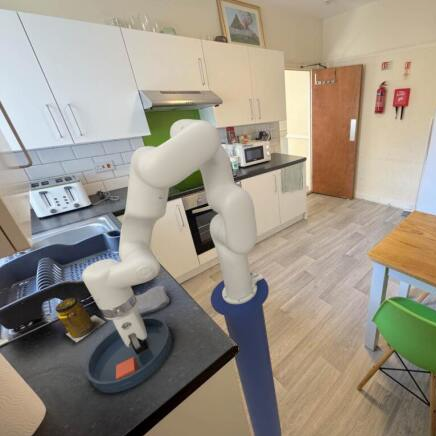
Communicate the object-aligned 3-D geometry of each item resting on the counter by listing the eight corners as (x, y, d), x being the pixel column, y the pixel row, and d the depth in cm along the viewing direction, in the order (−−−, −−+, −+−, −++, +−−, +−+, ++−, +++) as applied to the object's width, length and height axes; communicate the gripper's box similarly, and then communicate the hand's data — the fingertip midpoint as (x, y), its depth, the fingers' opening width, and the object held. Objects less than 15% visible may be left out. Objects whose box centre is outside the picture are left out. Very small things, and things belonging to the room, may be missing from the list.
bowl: (163, 315, 82) (159, 307, 80) (180, 358, 68) (176, 349, 66) (91, 351, 71) (85, 343, 69) (93, 411, 57) (86, 402, 55)
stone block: (173, 307, 88) (165, 289, 94) (169, 299, 85) (161, 281, 91) (136, 325, 82) (131, 304, 88) (131, 318, 79) (126, 296, 85)
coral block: (138, 365, 66) (133, 356, 64) (139, 378, 63) (134, 369, 61) (121, 374, 64) (116, 365, 62) (121, 387, 61) (115, 378, 59)
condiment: (65, 334, 77) (47, 307, 72) (94, 315, 84) (79, 289, 79) (77, 343, 74) (58, 315, 69) (106, 322, 81) (91, 296, 76)
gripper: (140, 313, 58) (162, 360, 66) (131, 282, 69) (151, 326, 77) (103, 331, 54) (132, 378, 62) (99, 295, 64) (124, 340, 73)
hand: (142, 349), depth 69 cm, fingers closed
